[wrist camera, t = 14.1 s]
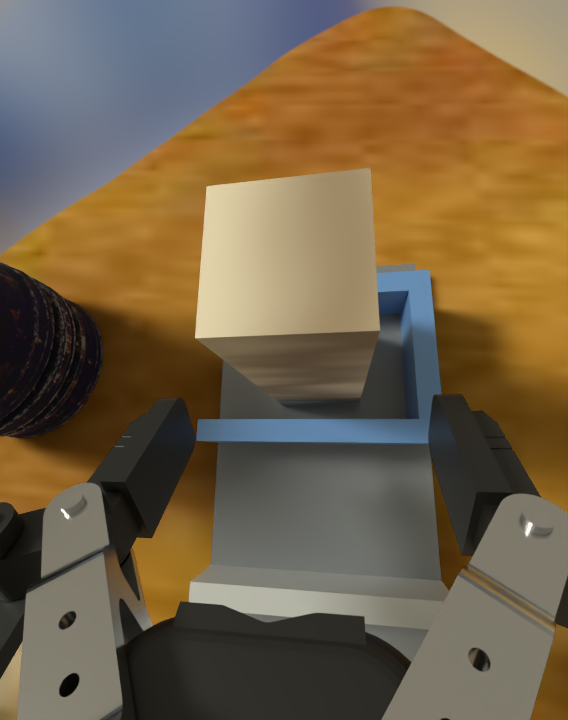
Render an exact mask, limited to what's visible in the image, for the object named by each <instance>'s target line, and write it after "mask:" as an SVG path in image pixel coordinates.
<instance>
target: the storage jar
mask: <svg viewBox="0 0 568 720" xmlns="http://www.w3.org/2000/svg"><path fill="white" fill-rule="evenodd" d="M102 359H103V344H102V339H101V334H100V332H99V329H98V327H97V325H96V323H95V321H94V320H93V318H92V317H91V316H90V315H89V314H88V312H87V311H86V310H84V309H83V308H81V307H80V306H79V305H77V304H75V303H73V302H71V301H69V300H67V299H65V298H63V297H62V296H61V295H59V294H58V293H57V292H56V291H54V290H53V289H51V288H50V287H48V286H46V285H45V284H43V283H41V282H39V281H38V280H36V279H33V278H31V277H29V276H28V275H27V274H25V273H24V272H22V271H20V270H17V269H15V268H12V267H10V266H8V265H6V264H3V263H0V436H9V437H18V438H26V437H35V436H40V435H43V434H46V433H49V432H51V431H53V430H55V429H57V428H59V427H60V426H62V425H64V424H65V423H66V422H67V421H69V420H70V419H71V418H72V417H73V416H74V415H75V414H76V413H77V412H78V411H79V410H80V409H81V408H82V407H83V405H84V404H85V403H86V401H87V400H88V399H89V397H90V395H91V393H92V392H93V390H94V388H95V385H96V383H97V381H98V378H99V375H100V371H101V367H102Z"/></svg>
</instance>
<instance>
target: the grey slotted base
mask: <svg viewBox="0 0 568 720" xmlns="http://www.w3.org/2000/svg"><path fill="white" fill-rule="evenodd" d="M376 272H377V289H378V306H379V323H380V332H379V336H378V339H377V343H376V346H375V350H374V353H373V357H372V360H371V364H370V367H369V371H368V374H367V378H366V381H365V385H364V388H363V391H362V395H361V398H360V402H359V405H358V406H283V405H281V404H280V403H279V402H277V401H276V400H275V399H273V398H272V397H271V396H270V395H268V394H267V393H266V392H264V391H263V390H262V389H260V388H259V387H258V386H257V385H255V384H254V383H253V382H251V381H250V380H249V379H247V378H246V377H245V376H243V375H242V374H241V373H240V372H238V371H237V370H236V369H234V368H233V367H232V366H230V365H229V364H228V363H227V362H225V361H224V360H223V370H222V386H221V403H220V419H198V425H197V438H196V441H205V442H217V443H218V453H217V470H216V487H215V503H214V520H213V537H212V553H211V565H210V566H209V567H207V568H206V569H205V570H204V571H203V572H201V573H200V574H199V575H198V576H197V577H195V578H194V579H193V580H192V581H191V582H190V593H189V602H194V603H206V604H218V605H224V606H227V607H229V608H231V609H234V610H236V611H239V612H241V613H243V614H246V615H248V616H251V617H253V618H255V619H258V620H260V621H263V622H274V621H279V620H283V619H288V618H293V617H297V616H302V615H307V614H311V613H316V612H317V613H329V614H341V615H354V616H364V618H365V632H367V633H370V634H372V635H375V636H377V637H379V638H380V639H382V640H384V641H386V642H388V643H389V644H390V645H392V646H393V647H395V648H396V649H397V650H399V651H400V652H401V653H402V654H403V655H404V656H405V657H407V658H408V659H409V660H410V661H411V662H412V661H413V659H414V657H415V655H416V653H417V652H418V650H419V648H420V646H421V644H422V642H423V640H424V638H425V636H426V635H427V633H428V631H429V629H430V627H431V625H432V623H433V621H434V619H435V618H436V616H437V614H438V612H439V610H440V608H441V606H442V604H443V602H444V601H445V599H446V597H447V595H448V593H449V590H448V589H447V587H446V586H445V585H444V583H443V582H442V581H441V569H440V557H439V546H438V534H437V522H436V511H435V499H434V487H433V475H432V464H431V455H430V451H429V444H428V432H429V423H430V415H431V407H432V399H433V396H434V395H435V394H442V393H441V383H440V373H439V362H438V352H437V342H436V331H435V321H434V311H433V300H432V290H431V280H430V270H417V271H415V265H414V264H405V265H390V266H376Z"/></svg>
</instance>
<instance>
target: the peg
mask: <svg viewBox="0 0 568 720" xmlns="http://www.w3.org/2000/svg"><path fill="white" fill-rule="evenodd" d="M379 332H380V323H379V306H378V289H377V272H376V255H375V238H374V221H373V204H372V187H371V170H370V168H365V169H356V170H347V171H339V172H330V173H321V174H312V175H303V176H295V177H286V178H277V179H268V180H259V181H250V182H242V183H233V184H224V185H215V186H207V191H206V204H205V217H204V230H203V242H202V255H201V268H200V281H199V293H198V306H197V319H196V331H195V339H197V340H198V341H199V342H200V343H202V344H203V345H204V346H206V347H207V348H208V349H210V350H211V351H212V352H214V353H215V354H216V355H217V356H219V357H220V358H221V359H223V360H224V361H225V362H227V363H228V364H229V365H230V366H232V367H233V368H234V369H236V370H237V371H238V372H240V373H241V374H242V375H243V376H245V377H246V378H247V379H249V380H250V381H251V382H253V383H254V384H255V385H257V386H258V387H259V388H260V389H262V390H263V391H264V392H266V393H267V394H268V395H270V396H271V397H272V398H273V399H275V400H276V401H277V402H279V403H280V404H281V405H283V406H358V405H359V402H360V398H361V395H362V391H363V388H364V385H365V381H366V378H367V374H368V371H369V367H370V364H371V360H372V357H373V353H374V350H375V346H376V343H377V339H378V336H379Z"/></svg>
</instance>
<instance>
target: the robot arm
mask: <svg viewBox="0 0 568 720" xmlns="http://www.w3.org/2000/svg"><path fill="white" fill-rule="evenodd" d="M194 444H195V435H194V430H193V427H192V424H191V421H190V417H189V414H188V411H187V408H186V404H185V402H184V400H183V399H182V398H160V399H158V400H157V401H156V402H155V403H154V405H153V406H152V408H151V409H150V410H149V412H148V413H144V414H142V415H141V416H140V417H139V418H137V419H136V420H135V421H133V422H132V423H131V424H130V425H129V426H128V428H127V429H126V430H125V432H124V433H123V435H122V438H120V439H119V440H118V441H117V443H116V444H115V447H113V448H112V449H111V451H110V452H109V453H108V455H107V456H106V457H105V459H104V460H103V461H102V463H101V464H100V465H99V467H98V468H97V469H96V471H95V472H94V474H93V475H92V476H91V478H90V479H89V480H88V482H87V483H82V484H78V485H75V486H72V487H70V488H68V489H66V490H65V491H63V492H62V493H60V494H59V495H58V496H56V497H55V498H54V499H53V500H52V501H51V502H50V504H49V505H48V506H47V508H43V509H39V510H35V511H31V512H27V513H23V514H18V513H17V511H16V510H15V509H14V507H13V506H12V505H11V504H9V503H5V502H1V503H0V678H1V677H2V675H3V673H4V672H5V670H6V668H7V667H8V665H9V663H10V661H11V660H12V658H13V656H14V655H15V653H16V651H17V650H18V648H19V646H20V644H21V643H22V641H23V644H22V658H21V672H20V686H19V700H18V714H17V720H530V718H531V714H532V711H533V707H534V704H535V700H536V697H537V694H538V690H539V687H540V683H541V680H542V676H543V673H544V669H545V666H546V662H547V659H548V656H549V652H550V649H551V645H552V642H553V638H554V634H555V629H556V624H558V625H561V626H563V627H566V628H568V515H567V514H566V513H565V512H564V511H563V510H562V509H561V508H559V507H558V506H557V505H555V504H553V503H552V502H550V501H548V500H546V499H543V498H541V496H540V495H539V493H538V491H537V490H536V488H535V486H534V485H533V483H532V481H531V479H530V478H529V476H528V474H527V473H526V471H525V469H524V468H523V466H522V464H521V463H520V461H519V459H518V457H517V456H516V454H515V452H514V451H512V447H511V446H510V444H509V442H508V440H507V439H505V435H504V434H503V432H502V430H501V429H500V427H499V425H498V424H497V422H495V421H494V420H493V419H492V418H490V417H489V416H488V415H487V414H485V413H484V412H483V411H471V410H470V408H469V406H468V404H467V402H466V400H465V399H464V397H463V395H462V394H435V395H434V396H433V399H432V407H431V415H430V423H429V432H428V444H429V451H430V455H431V458H432V461H433V464H434V468H435V471H436V474H437V477H438V480H439V484H440V487H441V490H442V493H443V496H444V500H445V503H446V506H447V509H448V513H449V516H450V519H451V522H452V525H453V529H454V532H455V535H456V538H457V541H458V545H459V548H460V551H461V554H462V556H473V557H472V559H471V561H470V563H469V564H468V566H467V567H463V568H462V570H461V571H460V573H459V574H458V576H457V578H456V580H455V582H454V584H453V585H452V587H451V589H450V591H449V593H448V595H447V597H446V599H445V601H444V602H443V604H442V606H441V608H440V610H439V612H438V614H437V616H436V618H435V619H434V621H433V623H432V625H431V627H430V629H429V631H428V633H427V635H426V636H425V638H424V640H423V642H422V644H421V646H420V648H419V650H418V652H417V653H416V655H415V657H414V659H413V661H412V662H411V661H410V660H409V659H408V658H407V657H405V656H404V655H403V654H402V653H401V652H400V651H399V650H397V649H396V648H395V647H393V646H392V645H390V644H389V643H388V642H386V641H384V640H382V639H380V638H379V637H377V636H375V635H372V634H370V633H367V632H365V618H364V616H354V615H341V614H329V613H317V612H316V613H311V614H307V615H302V616H297V617H293V618H288V619H283V620H279V621H274V622H263V621H260V620H258V619H255V618H253V617H251V616H248V615H246V614H243V613H241V612H239V611H236V610H234V609H231V608H229V607H227V606H224V605H218V604H206V603H194V602H181V601H180V604H179V607H178V610H177V613H176V616H175V617H173V618H170V619H167V620H165V621H162V622H159V623H157V624H155V625H152V623H151V620H150V618H149V615H148V612H147V608H146V604H145V600H144V595H143V590H142V586H141V581H140V576H139V572H138V567H137V562H136V558H135V553H134V550H133V548H132V545H133V544H134V542H135V540H136V538H137V537H139V538H152V537H153V535H154V532H155V530H156V528H157V526H158V524H159V522H160V520H161V518H162V515H163V513H164V511H165V509H166V507H167V505H168V503H169V501H170V498H171V496H172V494H173V492H174V490H175V488H176V486H177V484H178V481H179V479H180V477H181V475H182V473H183V471H184V469H185V467H186V464H187V462H188V460H189V458H190V456H191V454H192V452H193V449H194ZM555 623H556V624H555Z"/></svg>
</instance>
